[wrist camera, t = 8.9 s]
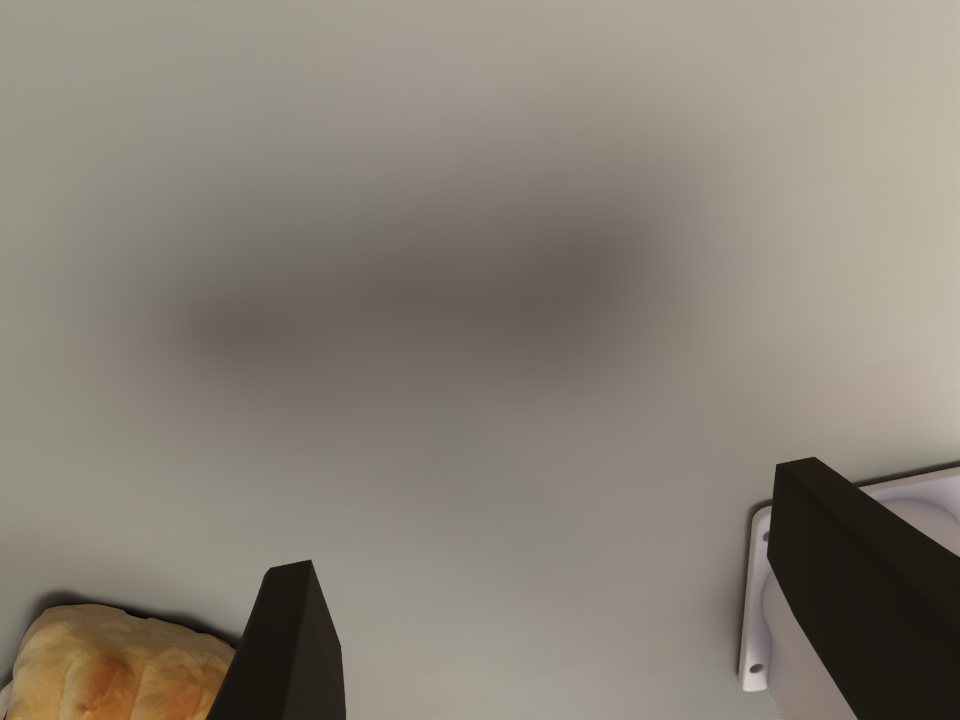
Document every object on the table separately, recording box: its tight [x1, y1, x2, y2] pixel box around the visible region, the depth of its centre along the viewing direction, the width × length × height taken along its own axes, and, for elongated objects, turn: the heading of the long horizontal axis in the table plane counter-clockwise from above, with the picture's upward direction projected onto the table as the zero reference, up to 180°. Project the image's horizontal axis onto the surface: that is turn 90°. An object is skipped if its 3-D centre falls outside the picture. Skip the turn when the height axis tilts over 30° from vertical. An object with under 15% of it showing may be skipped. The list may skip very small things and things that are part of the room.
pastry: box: [0, 604, 236, 720], centre depth 25 cm, size 9×7×4 cm
